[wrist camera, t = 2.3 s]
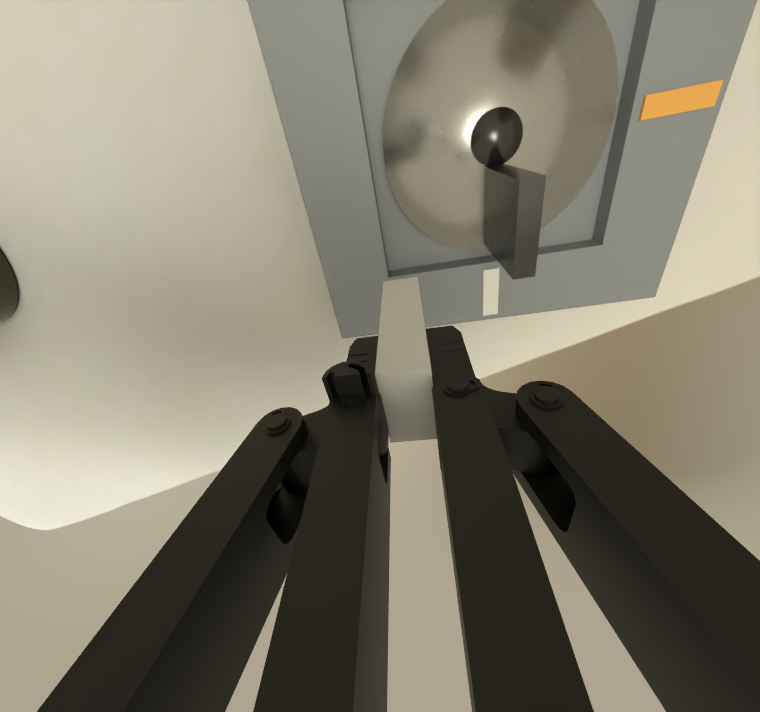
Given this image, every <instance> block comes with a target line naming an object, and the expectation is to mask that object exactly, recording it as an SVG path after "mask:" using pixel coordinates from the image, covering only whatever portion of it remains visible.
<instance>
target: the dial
mask: <svg viewBox="0 0 760 712" xmlns="http://www.w3.org/2000/svg"><path fill="white" fill-rule="evenodd" d="M617 97H618V65H617V55H616V51H615V47H614V43H613V38H612V35H611V33H610V30H609V28H608V25H607V23H606V20H605V18H604V17H603V15H602V13H601V12H600V10H599V9H598V7H597V5H596V4H595V3H594V2H593V0H446V1H445V2H444V3H443V4H442V5H441V6H440V7H439V8H438V9H437V10H436V11H435V12H433V13H432V14H431V16H430V17H429V18H428V19H427V21H426V22H425V23H424V24H423V26H422V27H421V28H420V29H419V31H418V32H417V33H416V35H415V37H414V38H413V40H412V41H411V43H410V45H409V46H408V48H407V49H406V51H405V53H404V56H403V58H402V60H401V62H400V64H399V66H398V68H397V71H396V73H395V76H394V79H393V82H392V85H391V88H390V92H389V96H388V100H387V104H386V109H385V117H384V124H383V150H384V161H385V166H386V171H387V176H388V179H389V182H390V185H391V188H392V191H393V193H394V195H395V197H396V199H397V201H398V203H399V205H400V207H401V208H402V210H403V211H404V213H405V214H406V216H407V217H408V218H409V219H410V220H411V222H412V223H413V224H414V225H415V226H416V227H417V228H419V229H420V230H421V231H422V232H423V233H424V234H426V235H427V236H429V237H430V238H432V239H433V240H435V241H438V242H440V243H442V244H444V245H447V246H450V247H453V248H457V249H463V250H475V251H481V250H489V251H490V252H491V254H492V255H493V256H494V257H495V259H496V260H497V261H498V262H499V263H500V265H501V266H502V267H503V268H504V269H505V271H506V272H507V273H508V274H509V276H510V277H511V278H512V279H513V280H514V279H521V278H528V277H535V274H536V264H537V255H538V246H539V237H540V230H541V229H542V228H543V227H545V226H546V225H547V224H549V223H550V222H551V221H553V220H554V219H555V218H556V217H557V216H558V215H559V214H560V213H561V212H563V211H564V210H565V209H566V208H567V207H568V205H569V204H570V203H571V202H572V201H573V200H574V199H575V197H576V196H577V195H578V194H579V192H580V191H581V190H582V188H583V187H584V185H585V184H586V183H587V181H588V180H589V178H590V176H591V174H592V173H593V171H594V169H595V168H596V166H597V164H598V162H599V160H600V158H601V155H602V153H603V151H604V149H605V146H606V143H607V140H608V138H609V135H610V132H611V128H612V124H613V120H614V116H615V111H616V104H617Z"/></svg>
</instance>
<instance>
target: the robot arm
mask: <svg viewBox="0 0 760 712" xmlns="http://www.w3.org/2000/svg"><path fill="white" fill-rule="evenodd" d="M17 300H18V290H17V285H16V281H15V278H14V275H13V273H12V270H11V268H10V266H9V264H8V262H7V261H6V259H5V257H4V256H3V254H2V253H1V251H0V322H1V321H3V320H5V319H7V318H8V317H9V316H10V315H11V314H12V313H13V312H14V310H15V308H16V305H17ZM322 380H323V383H324V386H325V389H326V392H327V394H328V397H329V400H330V402H329V405H328V406H327V407H325V408H323V409H321V410H319V411H316V412H313V413H310V414H307V415H304V416H302V414H301V413H300V412H299V411H298V410H297V409H295V408H291V407H286V408H280V409H277V410H274V411H272V412H270V413H268V414H267V415H265V416H264V417H263V418H262V419H261V420H260V421H259V422H258V423H257V424H256V425H255V427H254V428H253V429H252V431H251V432H250V433H249V435H248V436H247V437H246V439H245V440H244V441H243V443H242V444H241V445H240V446H239V448H238V449H237V450H236V452H235V453H234V454H233V456H232V457H231V458H230V460H229V461H228V462H227V463H226V465H225V466H224V467H223V469H222V470H221V471H220V473H219V474H218V475H217V477H216V478H215V479H214V481H213V482H212V483H211V484H210V486H209V487H208V488H207V490H206V491H205V492H204V494H203V495H202V496H201V498H200V499H199V500H198V501H197V503H196V504H195V505H194V507H193V508H192V509H191V511H190V512H189V513H188V515H187V516H186V517H185V518H184V520H183V521H182V522H181V524H180V525H179V526H178V528H177V529H176V530H175V532H174V533H173V534H172V535H171V537H170V538H169V539H168V541H167V542H166V543H165V545H164V546H163V547H162V549H161V550H160V551H159V553H158V554H157V555H156V556H155V558H154V559H153V560H152V562H151V563H150V564H149V566H148V567H147V568H146V570H145V571H144V572H143V573H142V575H141V576H140V578H139V579H138V580H137V581H136V583H135V584H134V585H133V587H132V588H131V589H130V590H129V592H128V593H127V595H126V596H125V597H124V598H123V600H122V601H121V602H120V604H119V605H118V606H117V607H116V609H115V610H114V612H113V613H112V614H111V615H110V617H109V618H108V619H107V621H106V622H105V623H104V625H103V626H102V627H101V629H100V630H99V631H98V632H97V634H96V635H95V636H94V638H93V639H92V641H91V642H90V643H89V644H88V645H87V647H86V648H85V649H84V651H83V652H82V653H81V655H80V656H79V657H78V659H77V660H76V662H75V663H74V664H73V665H72V666H71V668H70V669H69V670H68V672H67V673H66V674H65V676H64V677H63V678H62V680H61V681H60V682H59V684H58V685H57V686H56V687H55V689H54V690H53V691H52V693H51V694H50V695H49V697H48V698H47V699H46V701H45V702H44V703H43V704H42V706H41V707H40V708H39V710H38V711H37V712H225V711H226V708H227V706H228V704H229V701H230V699H231V697H232V695H233V692H234V691H235V688H236V686H237V684H238V682H239V679H240V677H241V675H242V673H243V670H244V668H245V666H246V664H247V662H248V659H249V657H250V655H251V653H252V650H253V648H254V646H255V644H256V641H257V639H258V637H259V635H260V633H261V630H262V628H263V626H264V624H265V622H266V619H267V617H268V615H269V613H270V610H271V608H272V606H273V604H274V601H275V599H276V597H277V595H278V592H279V590H280V588H281V585H282V584H283V581H284V579H285V577H286V575H287V577H286V581H285V586H284V589H283V593H282V597H281V601H280V606H279V609H278V614H277V618H276V622H275V626H274V630H273V634H272V638H271V642H270V646H269V650H268V654H267V658H266V662H265V666H264V671H263V675H262V679H261V683H260V687H259V691H258V695H257V699H256V703H255V707H254V711H253V712H387V668H388V603H389V602H388V601H389V599H388V598H389V534H390V532H389V531H390V468H391V457H390V452H389V448H388V434H389V438H390V442H403V441H415V440H426V439H427V440H428V439H437V440H438V449H439V459H440V468H441V473H442V480H443V488H444V496H445V504H446V511H447V520H448V527H449V535H450V543H451V551H452V558H453V566H454V574H455V581H456V589H457V597H458V605H459V613H460V620H461V628H462V635H463V643H464V651H465V659H466V667H467V674H468V682H469V690H470V697H471V705H472V712H594V711H593V708H592V705H591V702H590V700H589V696H588V693H587V690H586V688H585V685H584V682H583V679H582V676H581V673H580V670H579V667H578V664H577V661H576V658H575V655H574V652H573V649H572V646H571V643H570V640H569V637H568V635H567V632H566V629H565V626H564V623H563V620H562V617H561V614H560V611H559V608H558V605H557V602H556V599H555V596H554V593H553V590H552V587H551V585H550V582H549V579H548V576H547V573H546V570H545V567H544V564H543V561H542V558H541V555H540V552H539V549H538V546H537V543H536V540H535V537H534V534H533V531H532V528H531V525H530V523H529V519H528V517H527V514H526V511H525V508H524V505H523V502H522V499H521V496H520V493H519V490H518V487H517V484H516V481H515V478H514V475H515V477H516V479H517V480H518V481H519V483H520V485H521V486H522V488H523V489H524V491H525V493H526V494H527V495H528V497H529V499H530V500H531V502H532V503H533V505H534V507H535V508H536V510H537V511H538V513H539V514H540V516H541V517H542V519H543V521H544V522H545V524H546V525H547V527H548V528H549V530H550V531H551V533H552V535H553V536H554V538H555V539H556V541H557V542H558V544H559V545H560V547H561V549H562V550H563V552H564V553H565V555H566V556H567V558H568V559H569V561H570V562H571V564H572V566H573V567H574V569H575V570H576V572H577V573H578V575H579V577H580V578H581V580H582V581H583V583H584V584H585V586H586V587H587V589H588V591H589V592H590V594H591V595H592V597H593V598H594V600H595V601H596V603H597V604H598V606H599V608H600V609H601V611H602V612H603V614H604V615H605V617H606V619H607V620H608V622H609V623H610V625H611V626H612V628H613V629H614V631H615V633H616V634H617V636H618V637H619V639H620V640H621V642H622V643H623V645H624V646H625V648H626V650H627V651H628V653H629V654H630V656H631V657H632V659H633V661H634V662H635V663H636V665H637V667H638V668H639V670H640V671H641V673H642V675H643V676H644V678H645V679H646V681H647V682H648V684H649V685H650V687H651V688H652V690H653V692H654V693H655V695H656V696H657V698H658V699H659V701H660V702H661V704H662V706H663V707H664V709H665V710H666V712H760V561H759V560H758V559H757V558H756V557H755V556H753V554H751V553H750V552H749V551H748V550H747V549H746V548H745V547H744V546H743V545H741V544H740V543H739V542H738V541H737V540H736V539H735V538H734V537H733V536H731V535H730V534H729V533H728V532H727V531H726V530H725V529H724V528H723V527H721V526H720V525H719V524H718V523H717V522H716V521H715V520H714V519H713V518H711V517H710V516H709V515H708V514H707V513H706V512H705V511H703V509H702V508H700V507H699V506H698V505H697V504H696V503H695V502H694V501H692V500H691V499H690V498H689V497H688V496H687V495H686V494H685V493H684V492H683V491H682V490H680V489H679V488H678V487H677V486H676V485H675V484H674V483H673V482H672V481H670V480H669V479H668V478H667V477H666V476H665V475H664V474H663V473H662V472H660V471H659V470H658V469H657V468H656V467H655V466H654V465H653V464H652V463H650V462H649V461H648V460H647V459H646V458H645V457H643V455H641V453H639V452H638V451H637V450H636V449H635V448H634V447H633V446H632V445H630V444H629V443H628V442H627V441H626V440H625V439H624V438H623V437H622V436H620V435H619V434H618V433H617V432H616V431H615V430H614V429H613V428H612V427H610V426H609V425H608V424H607V423H606V422H605V421H604V420H603V419H601V417H599V416H598V415H597V414H596V413H595V412H594V411H593V410H591V408H589V407H588V406H587V405H586V404H585V403H584V402H582V400H581V399H580V398H578V397H577V396H576V395H575V394H574V393H573V392H572V391H570V390H569V389H567V388H566V387H564V386H562V385H559V384H556V383H553V382H548V381H534V382H529V383H527V384H525V385H523V386H521V387H520V388H519V390H518V391H517V394H515V393H506V392H500V391H495V390H492V389H489V388H487V387H485V386H484V385H482V383H481V382H480V380H479V379H477V378H476V377H475V375H474V372H473V368H472V365H471V362H470V359H469V356H468V353H467V350H466V347H465V344H464V341H463V338H462V334H461V332H460V331H459V330H457V329H456V328H455V327H454V326H445V327H437V328H429V329H425V323H424V316H423V309H422V303H421V296H420V289H419V282H418V277H411V278H404V279H398V280H391V281H384V282H383V291H382V302H381V313H380V324H379V335H378V336H373V337H365V338H358V339H356V340H355V341H354V343H353V344H352V345H351V346H350V349H349V353H348V358H347V361H346V362H342V363H339V364H337V365H335V366H333V367H331V368H330V369H329V370H327V371H326V372H325V374H324V375H323V377H322ZM513 474H514V475H513Z"/></svg>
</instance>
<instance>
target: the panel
mask: <svg viewBox="0 0 760 712" xmlns="http://www.w3.org/2000/svg"><path fill="white" fill-rule="evenodd" d="M247 1H248V5H249V8H250V12H251V15H252V19H253V22H254V26H255V30H256V33H257V37H258V40H259V44H260V47H261V51H262V54H263V58H264V62H265V65H266V69H267V72H268V76H269V79H270V83H271V86H272V90H273V94H274V97H275V101H276V104H277V108H278V111H279V115H280V118H281V122H282V126H283V129H284V133H285V136H286V140H287V143H288V147H289V150H290V154H291V158H292V161H293V165H294V168H295V172H296V175H297V179H298V182H299V186H300V190H301V193H302V197H303V200H304V204H305V207H306V211H307V214H308V218H309V222H310V225H311V229H312V232H313V236H314V239H315V243H316V247H317V250H318V254H319V257H320V261H321V264H322V268H323V271H324V275H325V279H326V282H327V286H328V289H329V293H330V296H331V300H332V303H333V307H334V311H335V314H336V318H337V321H338V325H339V328H340V332H341V335H342V338H349V337H357V336H365V335H372V334H379V324H380V313H381V302H382V291H383V282H384V281H391V280H398V279H404V278H411V277H418V282H419V289H420V296H421V303H422V309H423V316H424V323H425V327H432V326H440V325H448V324H455V323H463V322H470V321H478V320H485V319H493V318H500V317H508V316H516V315H523V314H531V313H538V312H546V311H553V310H561V309H568V308H576V307H583V306H591V305H599V304H606V303H614V302H621V301H629V300H636V299H644V298H651V297H655V296H656V293H657V290H658V287H659V284H660V281H661V278H662V275H663V272H664V269H665V266H666V264H667V261H668V258H669V255H670V252H671V249H672V246H673V243H674V240H675V237H676V235H677V232H678V229H679V226H680V223H681V220H682V217H683V214H684V211H685V208H686V206H687V203H688V200H689V197H690V194H691V191H692V188H693V185H694V182H695V179H696V176H697V174H698V171H699V168H700V165H701V162H702V159H703V156H704V153H705V150H706V147H707V145H708V142H709V139H710V136H711V133H712V130H713V127H714V124H715V121H716V118H717V116H718V113H719V110H720V107H721V104H722V101H723V98H724V95H725V92H726V89H727V86H728V84H729V81H730V78H731V75H732V72H733V69H734V66H735V63H736V60H737V57H738V55H739V52H740V49H741V46H742V43H743V40H744V37H745V34H746V31H747V28H748V26H749V23H750V20H751V17H752V14H753V11H754V8H755V5H756V2H757V0H593V2H594V3H595V4H596V5H597V7H598V9H599V10H600V12H601V13H602V15H603V17H604V18H605V20H606V23H607V25H608V28H609V30H610V33H611V35H612V38H613V43H614V47H615V51H616V55H617V65H618V97H617V104H616V111H615V116H614V120H613V124H612V128H611V132H610V135H609V138H608V140H607V143H606V146H605V149H604V151H603V153H602V155H601V158H600V160H599V162H598V164H597V166H596V168H595V169H594V171H593V173H592V174H591V176H590V178H589V180H588V181H587V183H586V184H585V185H584V187H583V188H582V190H581V191H580V192H579V194H578V195H577V196H576V197H575V199H574V200H573V201H572V202H571V203H570V204H569V205H568V207H567V208H566V209H565V210H564V211H563V212H561V213H560V214H559V215H558V216H557V217H556V218H555V219H554V220H553V221H551V222H550V223H549V224H547V225H546V226H545V227H543V228H542V229H541V230H540V237H539V246H538V255H537V264H536V274H535V277H528V278H521V279H514V280H513V279H512V278H511V277H510V276H509V274H508V273H507V272H506V271H505V269H504V268H503V267H502V266H501V265H500V263H499V262H498V261H497V260H496V259H495V257H494V256H493V255H492V254H491V252H490V251H489V250H481V251H475V250H463V249H457V248H453V247H450V246H447V245H444V244H442V243H440V242H438V241H435V240H433V239H432V238H430V237H429V236H427V235H426V234H424V233H423V232H422V231H421V230H420V229H419V228H417V227H416V226H415V225H414V224H413V223H412V222H411V220H410V219H409V218H408V217H407V216H406V214H405V213H404V211H403V210H402V208H401V207H400V205H399V203H398V201H397V199H396V197H395V195H394V193H393V191H392V188H391V185H390V182H389V179H388V176H387V171H386V166H385V161H384V150H383V124H384V117H385V109H386V104H387V100H388V96H389V92H390V88H391V85H392V82H393V79H394V76H395V73H396V71H397V68H398V66H399V64H400V62H401V60H402V58H403V56H404V53H405V51H406V49H407V48H408V46H409V45H410V43H411V41H412V40H413V38H414V37H415V35H416V33H417V32H418V31H419V29H420V28H421V27H422V26H423V24H424V23H425V22H426V21H427V19H428V18H429V17H430V16H431V14H432V13H433V12H435V11H436V10H437V9H438V8H439V7H440V6H441V5H442V4H443V3H444V2H445V1H446V0H247Z"/></svg>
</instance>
